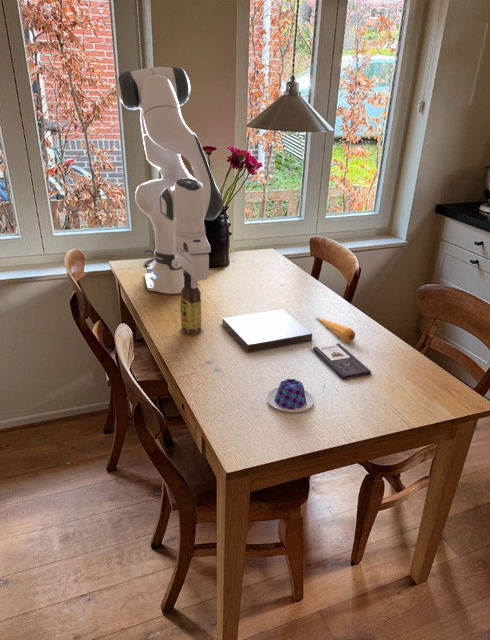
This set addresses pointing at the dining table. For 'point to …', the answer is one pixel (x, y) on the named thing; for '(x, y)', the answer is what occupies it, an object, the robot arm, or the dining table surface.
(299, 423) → the dining table surface
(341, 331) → the carrot
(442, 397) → the dining table surface
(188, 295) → the sauce bottle
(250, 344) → the walnut board
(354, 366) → the chocolate bar
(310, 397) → the pudding
